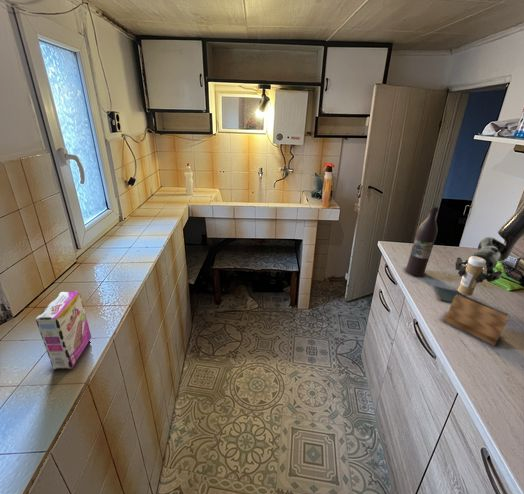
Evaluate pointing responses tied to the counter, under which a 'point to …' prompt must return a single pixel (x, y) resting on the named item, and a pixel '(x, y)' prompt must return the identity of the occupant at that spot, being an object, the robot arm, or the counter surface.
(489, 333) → the magnetic knife rack
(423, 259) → the wine bottle
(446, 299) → the mat
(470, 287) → the sprinkles bottle
